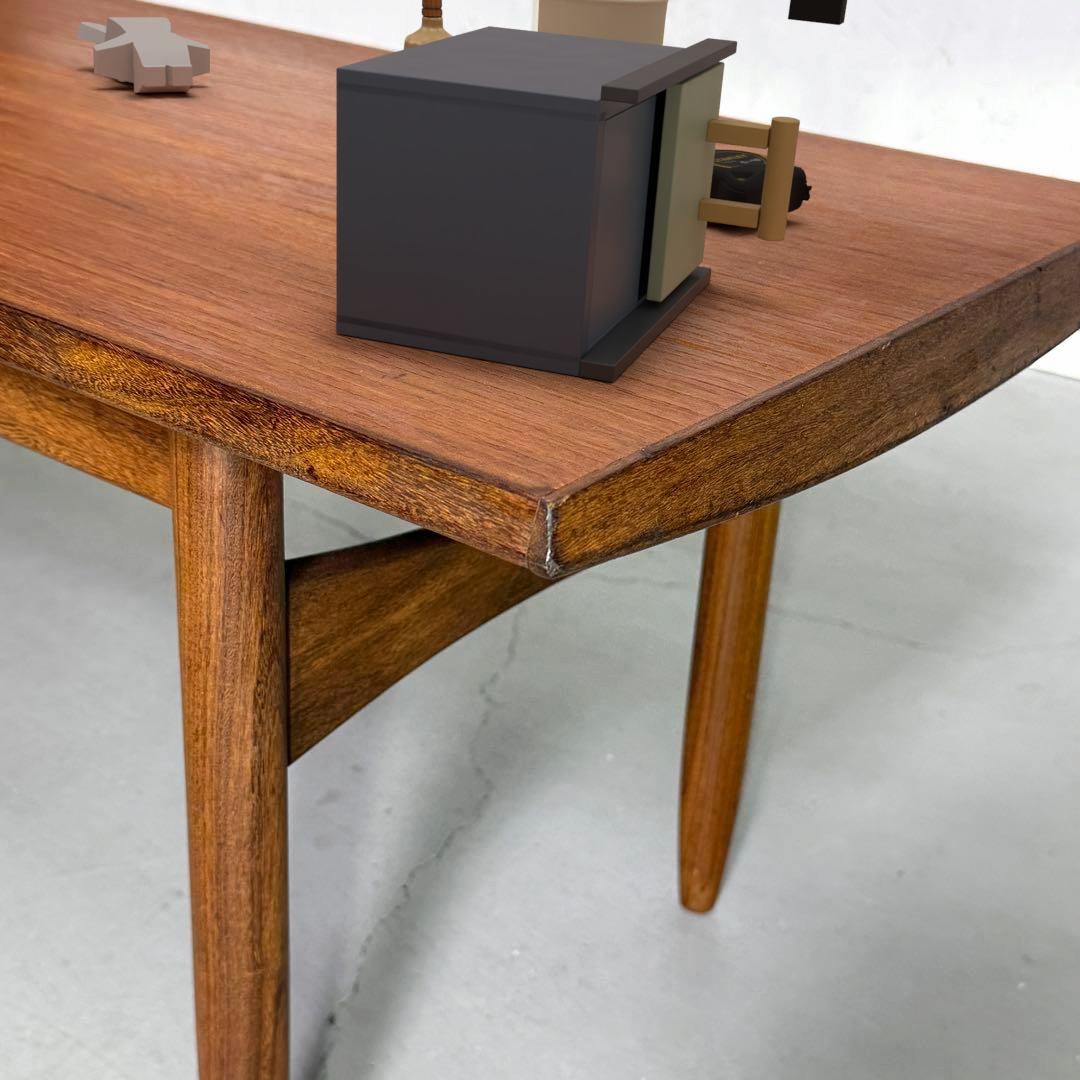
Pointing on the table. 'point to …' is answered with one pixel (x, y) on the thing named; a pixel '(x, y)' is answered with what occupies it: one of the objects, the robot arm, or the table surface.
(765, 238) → the door
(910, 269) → the table surface
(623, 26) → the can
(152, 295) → the table surface
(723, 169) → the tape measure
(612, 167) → the cabinet
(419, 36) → the hand bell
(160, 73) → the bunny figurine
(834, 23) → the robot arm
